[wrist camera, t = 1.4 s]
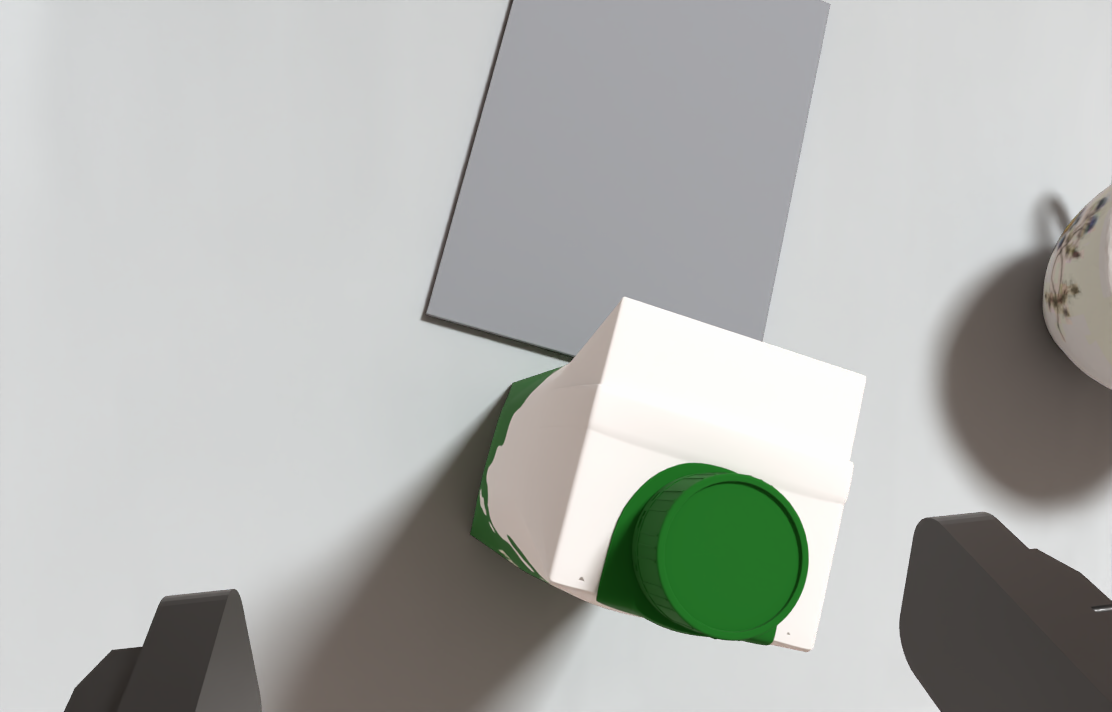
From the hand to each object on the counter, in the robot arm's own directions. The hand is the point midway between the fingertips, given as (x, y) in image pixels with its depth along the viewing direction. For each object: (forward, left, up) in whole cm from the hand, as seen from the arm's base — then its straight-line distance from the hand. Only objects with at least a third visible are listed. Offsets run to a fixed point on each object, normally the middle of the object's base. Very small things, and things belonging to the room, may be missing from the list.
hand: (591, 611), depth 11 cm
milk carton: (+6, +3, -30) cm, 31 cm away
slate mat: (+6, +20, -30) cm, 37 cm away
